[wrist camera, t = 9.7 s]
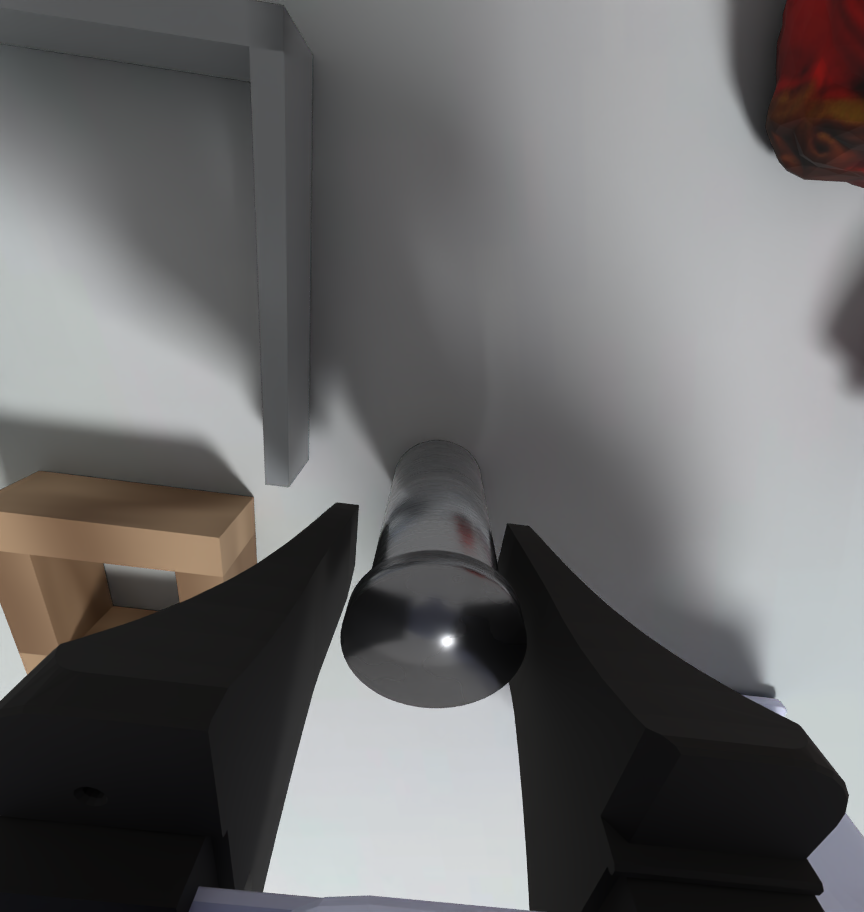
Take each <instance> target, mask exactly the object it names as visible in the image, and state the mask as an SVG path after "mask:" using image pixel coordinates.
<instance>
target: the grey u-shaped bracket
mask: <svg viewBox="0 0 864 912" xmlns="http://www.w3.org/2000/svg"><path fill="white" fill-rule="evenodd" d="M0 44H7V45H13V46H20V47H26V48H33V49H39V50H46V51H53V52H59V53H66V54H72V55H79V56H85V57H92V58H98V59H105V60H111V61H118V62H124V63H131V64H137V65H144V66H150V67H157V68H164V69H170V70H177V71H183V72H190V73H196V74H203V75H209V76H216V77H222V78H229V79H235V80H242V81H248V82H251V109H252V136H253V164H254V191H255V218H256V245H257V272H258V299H259V326H260V353H261V380H262V408H263V435H264V462H265V485H274V486H282V487H290V485H291V484H292V482H293V481H294V480H295V478H296V477H297V475H298V474H299V473H300V471H301V470H302V468H303V467H304V466H305V464H306V463H307V461H308V460H309V378H310V281H311V183H312V85H313V54H312V52H311V50H310V49H309V47H308V45H307V44H306V42H305V40H304V39H303V37H302V35H301V34H300V32H299V30H298V29H297V27H296V25H295V23H294V22H293V20H292V18H291V17H290V15H289V13H288V12H287V10H286V8H285V7H284V5H280V4H273V3H267V2H261V1H254V0H0Z"/></svg>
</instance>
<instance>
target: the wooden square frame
mask: <svg viewBox="0 0 864 912" xmlns="http://www.w3.org/2000/svg"><path fill="white" fill-rule="evenodd" d="M103 563H106V564H115V565H123V566H132V567H140V568H149V569H158V570H166V571H175V574H176V581H177V588H178V594H179V601H180V602H183V601H185V600H187V599H190V598H192V597H194V596H196V595H198V594H200V593H202V592H204V591H206V590H208V589H211V588H213V587H215V586H217V585H219V584H221V583H223V582H225V581H227V580H229V579H231V578H233V577H235V576H236V575H238V574H240V573H242V572H243V571H245V570H247V569H249V568H250V567H252V566H254V565H255V564H257V555H256V535H255V515H254V497H249V496H240V495H232V494H224V493H216V492H208V491H200V490H191V489H183V488H175V487H167V486H159V485H151V484H143V483H134V482H126V481H118V480H110V479H102V478H94V477H85V476H77V475H69V474H61V473H53V472H45V471H38V472H36V473H34V474H32V475H30V476H28V477H26V478H24V479H21V480H19V481H17V482H15V483H13V484H11V485H9V486H7V487H5V488H3V489H1V490H0V603H1V606H2V609H3V611H4V614H5V617H6V619H7V622H8V625H9V627H10V630H11V633H12V635H13V638H14V641H15V643H16V646H17V649H18V651H19V654H20V657H21V659H22V662H23V665H24V667H25V670H26V673H27V675H28V674H29V673H30V672H31V671H32V670H33V669H34V668H35V667H36V666H37V665H38V664H39V663H40V662H41V661H42V660H43V659H44V658H45V657H46V656H48V655H49V654H50V653H51V652H52V651H53V650H54V649H55V648H56V647H57V646H59V645H60V644H62V643H65V642H69V641H72V640H76V639H79V638H82V637H85V636H88V635H91V634H94V633H98V632H101V631H104V630H107V629H110V628H113V627H116V626H120V625H123V624H126V623H128V622H131V621H134V620H137V619H140V618H142V617H145V616H148V615H150V614H153V613H156V612H158V611H153V610H144V609H135V608H126V607H118V606H113V604H112V600H111V595H110V591H109V587H108V582H107V578H106V574H105V570H104V565H103Z"/></svg>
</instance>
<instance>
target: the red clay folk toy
mask: <svg viewBox="0 0 864 912" xmlns="http://www.w3.org/2000/svg"><path fill="white" fill-rule="evenodd" d="M765 128H766V131H767V133H768V136H769V139H770V142H771V144H772V147H773V149H774V151H775V154H776V156H777V159H778V161H779V162H780V163H781V165H782V166H783V167H784V168H785V169H786V170H787V171H788V172H790V173H792V174H794V175H796V176H798V177H800V178H802V179H805V180H822V181H840V182H848V183H850V184H852V185H856V186H859V187H862V188H864V0H787V2H786V5H785V9H784V12H783V20H782V28H781V31H780V35H779V38H778V41H777V56H776V89H775V92H774V94H773V97H772V100H771V102H770V105H769V108H768V114H767V120H766V125H765Z"/></svg>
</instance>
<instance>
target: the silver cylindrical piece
mask: <svg viewBox="0 0 864 912" xmlns="http://www.w3.org/2000/svg"><path fill="white" fill-rule="evenodd" d="M341 647H342V652H343V655H344V658H345V660H346V662H347V664H348V666H349V667H350V669H351V670H352V672H353V673H354V674H355V675H356V676H357V677H358V679H359V680H360V681H361V682H363V683H364V684H365V685H366V686H367V687H369V688H370V689H372V690H373V691H375V692H376V693H378V694H380V695H382V696H384V697H386V698H388V699H391V700H393V701H396V702H399V703H403V704H406V705H411V706H416V707H424V708H448V707H456V706H462V705H466V704H469V703H473V702H476V701H478V700H481V699H484V698H486V697H488V696H489V695H491V694H493V693H495V692H496V691H498V690H499V689H501V688H502V687H503V686H504V685H506V684H507V683H508V682H509V681H510V680H511V679H512V678H513V677H514V675H515V674H516V673H517V671H518V670H519V668H520V667H521V664H522V662H523V660H524V657H525V653H526V649H527V634H526V628H525V624H524V620H523V615H522V611H521V607H520V603H519V600H518V598H517V595H516V593H515V591H514V590H513V588H512V587H511V585H510V584H509V583H508V581H507V580H506V579H505V578H504V577H503V576H502V575H501V574H500V573H499V570H498V565H497V559H496V554H495V549H494V543H493V538H492V533H491V527H490V522H489V516H488V511H487V506H486V500H485V495H484V490H483V484H482V479H481V474H480V470H479V467H478V464H477V462H476V461H475V459H474V458H473V456H472V455H471V454H470V453H469V452H468V451H467V450H465V449H464V448H462V447H461V446H459V445H457V444H454V443H452V442H448V441H441V440H433V441H427V442H423V443H420V444H418V445H416V446H414V447H412V448H411V449H410V450H408V451H407V452H406V453H405V454H404V455H403V456H402V458H401V459H400V461H399V462H398V464H397V467H396V470H395V474H394V479H393V483H392V487H391V491H390V495H389V499H388V504H387V508H386V512H385V516H384V520H383V525H382V529H381V533H380V537H379V541H378V545H377V550H376V554H375V558H374V562H373V566H372V569H371V570H370V571H369V572H368V573H367V574H366V575H365V576H363V578H362V579H361V580H360V581H359V582H358V584H357V585H356V587H355V588H354V590H353V592H352V594H351V597H350V599H349V602H348V606H347V609H346V613H345V616H344V620H343V623H342V628H341Z"/></svg>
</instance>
